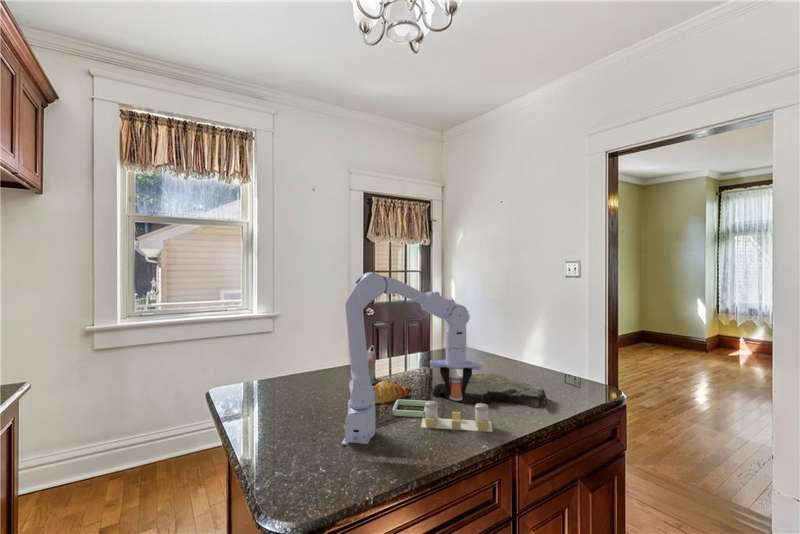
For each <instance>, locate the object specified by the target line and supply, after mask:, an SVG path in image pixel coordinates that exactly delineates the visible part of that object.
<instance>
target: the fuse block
mask: <svg viewBox="0 0 800 534" xmlns="http://www.w3.org/2000/svg"><path fill="white" fill-rule="evenodd" d="M461 417H462V416H461V411H451V418H441V417H440V418H439V417H438V424H437V425H435V418H426V424H425V417H422V419H421V423H420V424H421V425H420V428H427V429H441V430H442V429H443V430H456V431H457V430H458V431H459V430H460V431H461V430H462V431H472V432H473V431H474V432H475V431H476V432H491V433H493V432H494V431H493V424H492V421H490V420H488V428H487V421H478V428H477V427H476V426H475V420H472V419H461Z"/></svg>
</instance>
